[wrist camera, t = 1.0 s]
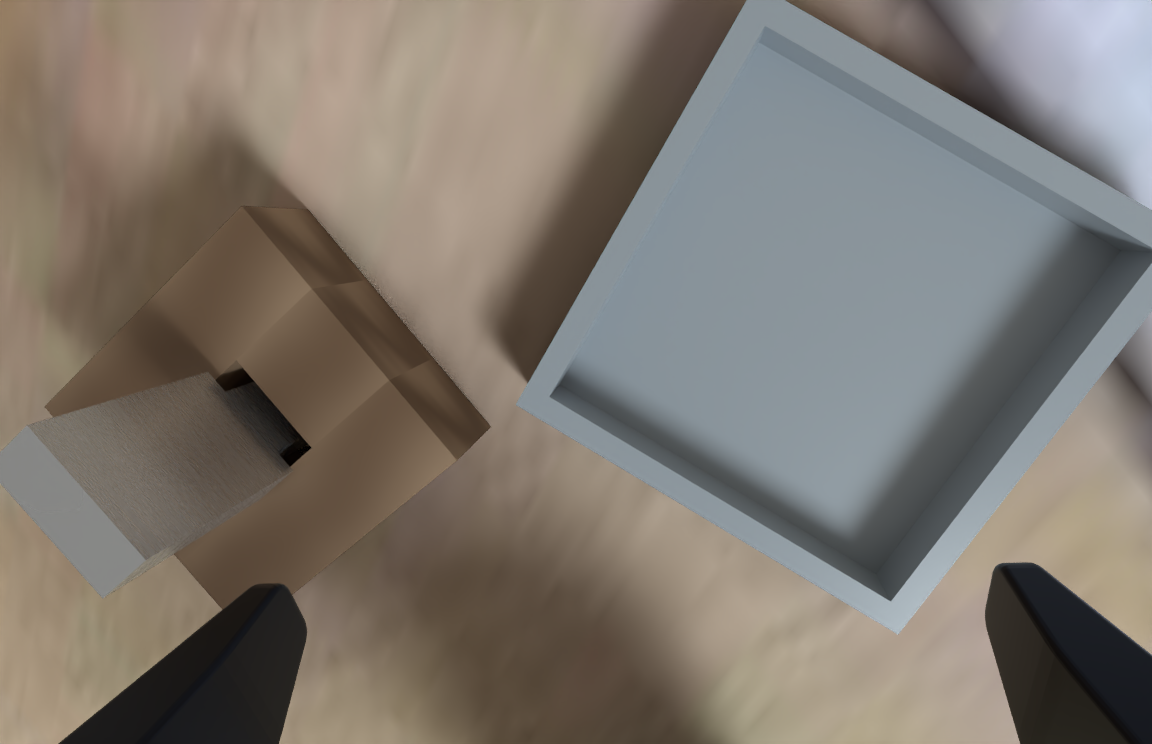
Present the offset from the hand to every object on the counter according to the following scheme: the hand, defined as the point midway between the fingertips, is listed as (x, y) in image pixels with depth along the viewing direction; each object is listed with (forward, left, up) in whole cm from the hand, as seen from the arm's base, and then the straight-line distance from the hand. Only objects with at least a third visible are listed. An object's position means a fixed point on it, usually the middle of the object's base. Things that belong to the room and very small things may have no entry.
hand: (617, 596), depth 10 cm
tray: (+4, -4, -16) cm, 17 cm away
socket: (-8, +10, -16) cm, 21 cm away
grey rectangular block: (-8, +10, -16) cm, 21 cm away
